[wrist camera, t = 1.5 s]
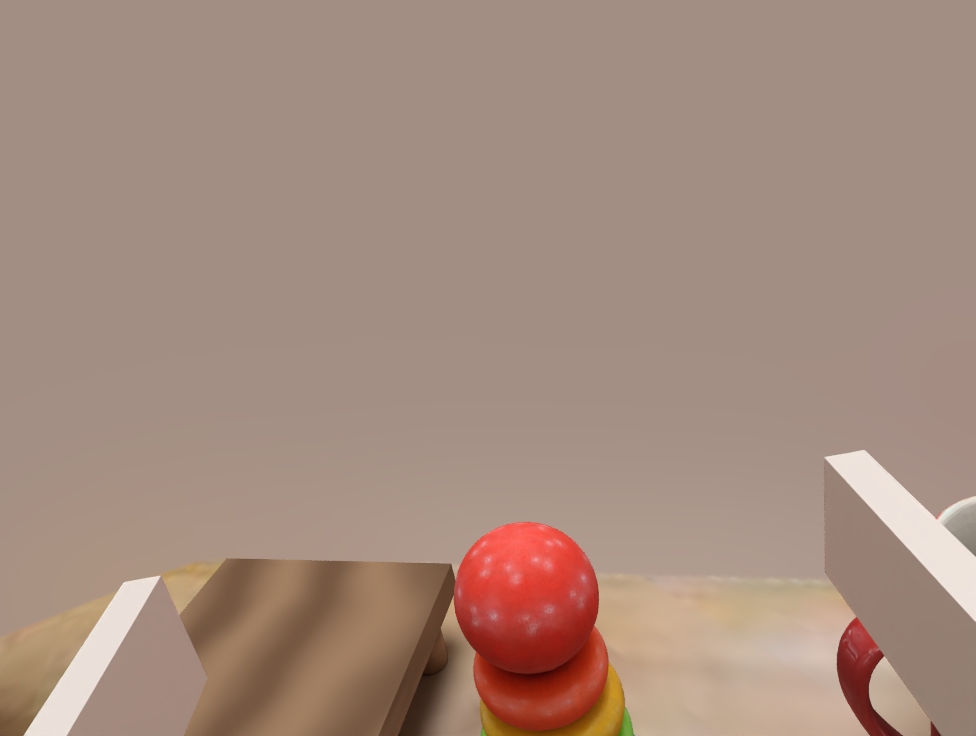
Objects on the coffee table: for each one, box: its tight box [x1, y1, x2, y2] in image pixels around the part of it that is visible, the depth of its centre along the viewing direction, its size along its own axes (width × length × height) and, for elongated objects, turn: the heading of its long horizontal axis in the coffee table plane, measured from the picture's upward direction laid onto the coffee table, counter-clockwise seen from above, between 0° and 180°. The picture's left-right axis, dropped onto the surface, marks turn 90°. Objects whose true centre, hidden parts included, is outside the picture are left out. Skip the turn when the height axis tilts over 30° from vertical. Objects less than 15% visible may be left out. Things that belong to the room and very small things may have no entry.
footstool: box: [179, 559, 455, 736], centre depth 40 cm, size 16×16×6 cm
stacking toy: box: [454, 522, 635, 736], centre depth 28 cm, size 8×8×19 cm
